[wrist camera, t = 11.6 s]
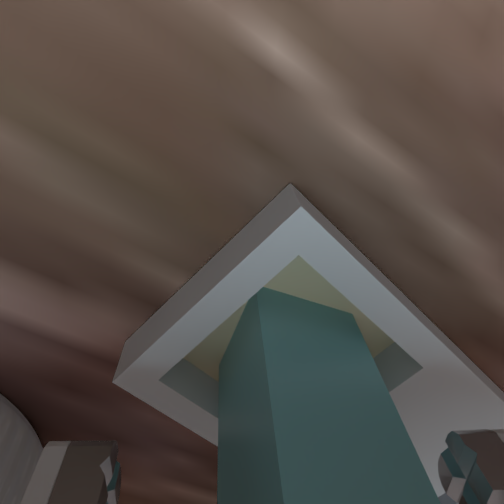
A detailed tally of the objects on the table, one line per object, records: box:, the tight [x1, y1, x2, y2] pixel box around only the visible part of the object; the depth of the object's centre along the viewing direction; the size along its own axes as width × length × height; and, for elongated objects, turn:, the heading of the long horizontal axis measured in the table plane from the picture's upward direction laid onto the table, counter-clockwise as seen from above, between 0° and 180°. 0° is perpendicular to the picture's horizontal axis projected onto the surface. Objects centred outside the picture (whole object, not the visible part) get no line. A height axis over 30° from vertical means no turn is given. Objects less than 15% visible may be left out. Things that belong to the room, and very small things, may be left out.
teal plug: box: [217, 287, 441, 504], centre depth 11 cm, size 4×4×9 cm
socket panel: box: [112, 183, 504, 504], centre depth 17 cm, size 8×20×2 cm, turn 45°
